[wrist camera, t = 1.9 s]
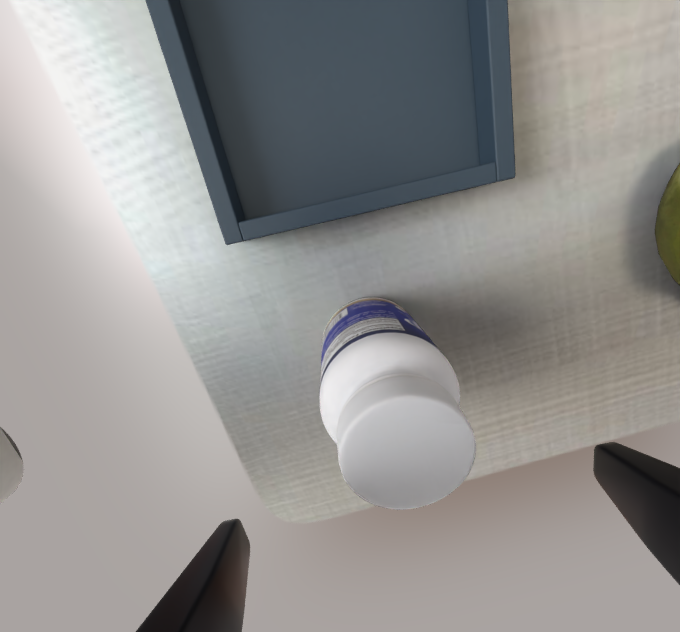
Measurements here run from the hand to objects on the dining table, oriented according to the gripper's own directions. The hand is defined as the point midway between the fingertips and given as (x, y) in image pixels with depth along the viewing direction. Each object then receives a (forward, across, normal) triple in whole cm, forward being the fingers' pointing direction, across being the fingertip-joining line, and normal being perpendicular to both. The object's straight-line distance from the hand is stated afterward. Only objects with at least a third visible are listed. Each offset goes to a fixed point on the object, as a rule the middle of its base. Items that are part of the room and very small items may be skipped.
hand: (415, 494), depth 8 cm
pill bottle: (+10, 0, 0) cm, 10 cm away
